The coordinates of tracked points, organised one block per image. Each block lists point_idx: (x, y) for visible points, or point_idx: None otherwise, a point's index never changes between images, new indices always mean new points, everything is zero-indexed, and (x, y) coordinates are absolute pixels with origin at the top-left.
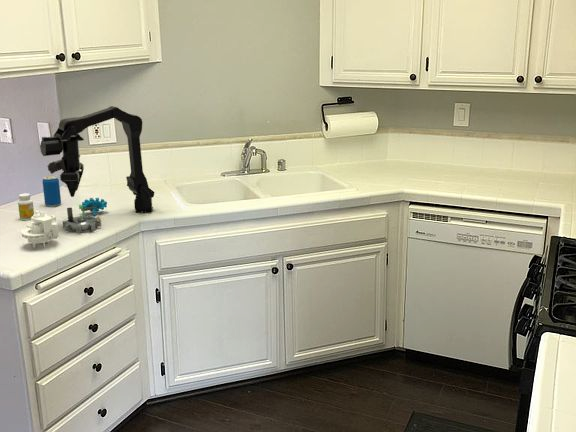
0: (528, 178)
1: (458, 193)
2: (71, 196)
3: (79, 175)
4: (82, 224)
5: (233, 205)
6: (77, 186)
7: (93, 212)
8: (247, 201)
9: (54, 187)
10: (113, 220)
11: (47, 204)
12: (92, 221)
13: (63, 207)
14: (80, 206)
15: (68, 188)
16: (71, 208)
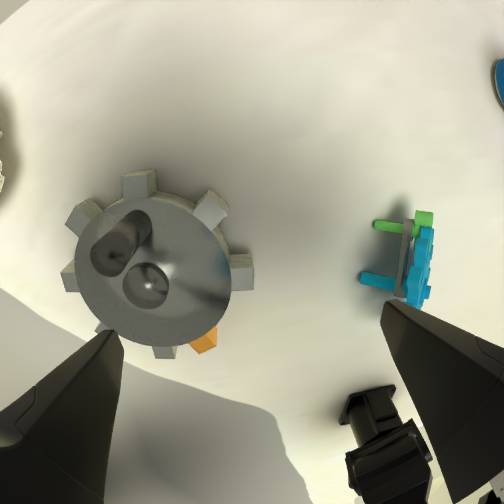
0: None
1: None
2: (104, 335)
3: (456, 468)
4: (89, 297)
5: (334, 487)
6: (397, 360)
7: (375, 276)
8: (349, 489)
9: None
10: (276, 357)
11: (498, 64)
12: (139, 332)
13: (488, 122)
14: (421, 222)
15: (31, 393)
16: (104, 275)
